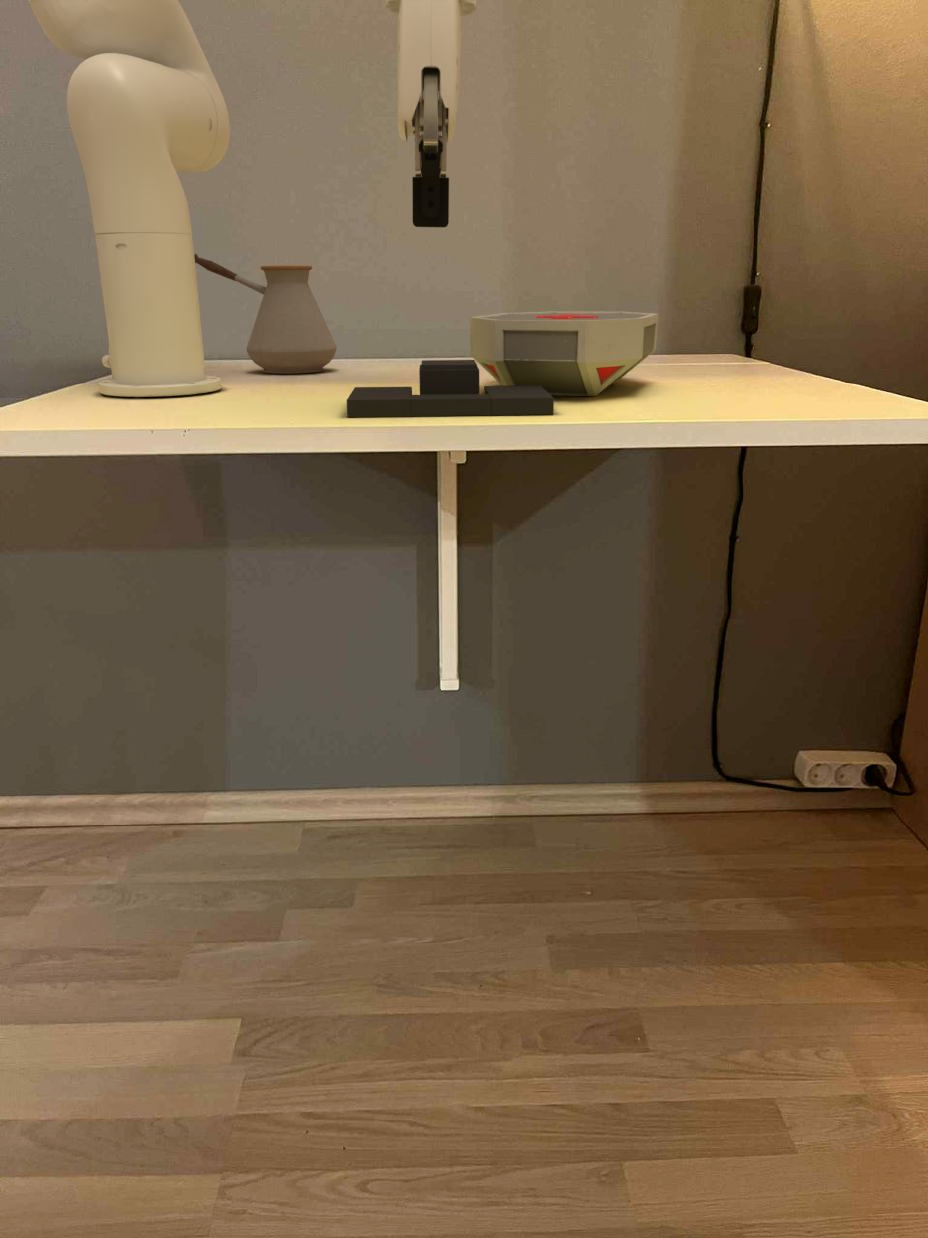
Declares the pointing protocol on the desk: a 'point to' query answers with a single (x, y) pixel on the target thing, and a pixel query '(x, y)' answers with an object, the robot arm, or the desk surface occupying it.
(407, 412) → the base pad
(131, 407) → the desk surface
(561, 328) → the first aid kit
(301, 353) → the coffee pot
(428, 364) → the black squarish block
